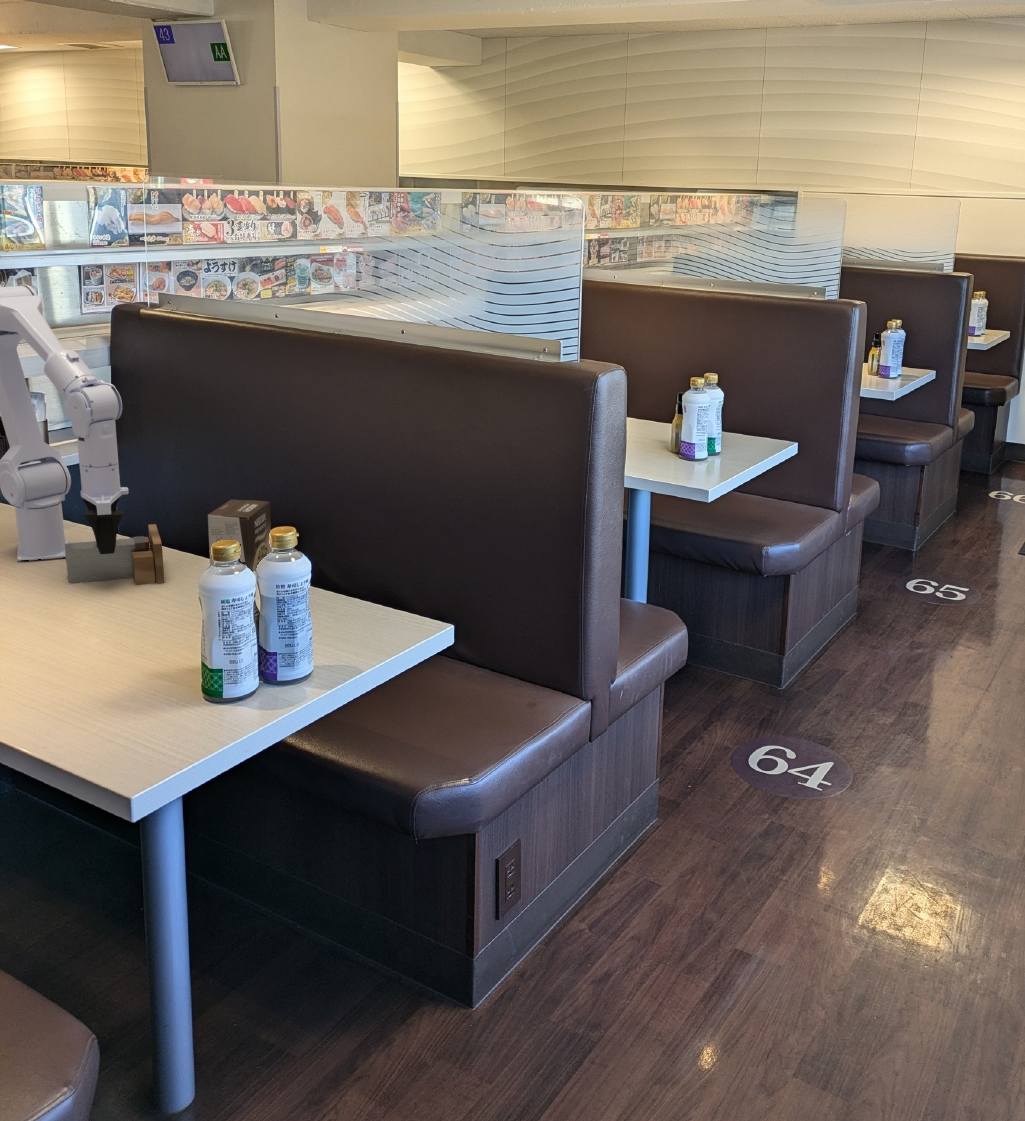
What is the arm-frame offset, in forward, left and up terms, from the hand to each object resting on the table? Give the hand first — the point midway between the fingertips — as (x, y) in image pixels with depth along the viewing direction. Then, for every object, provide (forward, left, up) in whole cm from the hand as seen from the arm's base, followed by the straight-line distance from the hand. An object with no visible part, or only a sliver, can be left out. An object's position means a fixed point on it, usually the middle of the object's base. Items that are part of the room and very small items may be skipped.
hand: (105, 545), depth 179 cm
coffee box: (+21, +18, -5) cm, 28 cm away
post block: (0, +5, -5) cm, 7 cm away
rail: (0, 0, -5) cm, 5 cm away
